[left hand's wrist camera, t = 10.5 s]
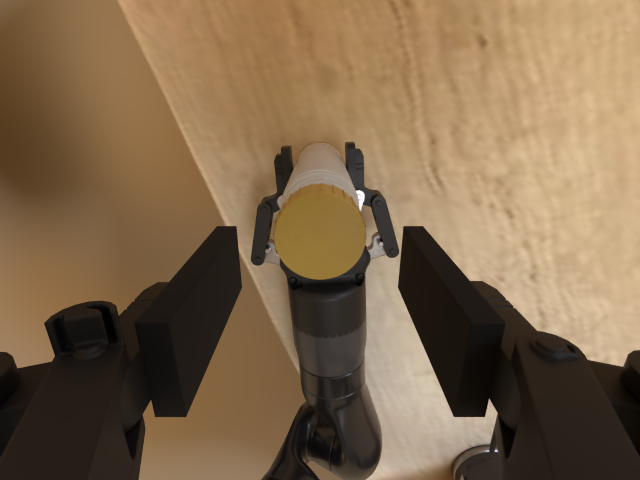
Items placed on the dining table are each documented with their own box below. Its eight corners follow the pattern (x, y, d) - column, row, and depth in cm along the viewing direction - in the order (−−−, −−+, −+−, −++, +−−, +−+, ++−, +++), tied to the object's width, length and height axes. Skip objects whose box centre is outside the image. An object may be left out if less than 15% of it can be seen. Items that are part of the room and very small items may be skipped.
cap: (314, 164, 17) (313, 172, 15) (379, 219, 18) (386, 233, 16) (261, 228, 18) (254, 244, 16) (324, 276, 19) (325, 296, 17)
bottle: (317, 132, 35) (313, 164, 15) (352, 163, 36) (390, 230, 16) (287, 168, 36) (250, 241, 17) (322, 197, 37) (325, 297, 18)
